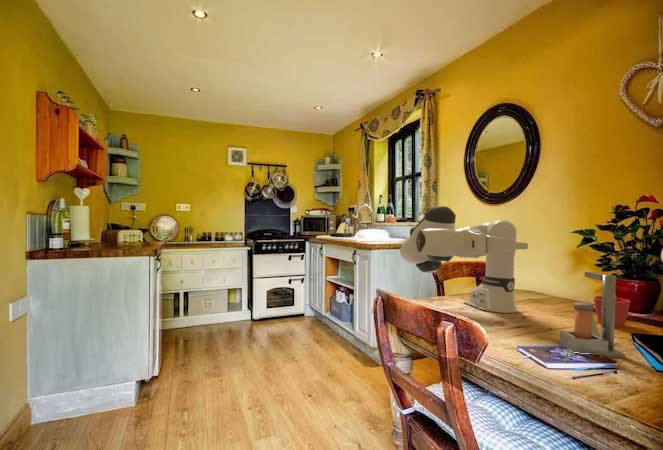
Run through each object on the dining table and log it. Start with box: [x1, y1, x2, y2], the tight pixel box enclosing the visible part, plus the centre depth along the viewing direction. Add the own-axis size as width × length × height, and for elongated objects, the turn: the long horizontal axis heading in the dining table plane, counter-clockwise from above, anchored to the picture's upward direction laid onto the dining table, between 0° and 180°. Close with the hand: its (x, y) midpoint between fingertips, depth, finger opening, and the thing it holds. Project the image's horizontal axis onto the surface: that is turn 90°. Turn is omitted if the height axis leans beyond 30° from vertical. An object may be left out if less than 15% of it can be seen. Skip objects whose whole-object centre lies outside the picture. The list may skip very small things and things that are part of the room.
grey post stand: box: [555, 271, 626, 359], centre depth 102 cm, size 13×15×22 cm
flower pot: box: [593, 295, 631, 328], centre depth 129 cm, size 11×11×10 cm
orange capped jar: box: [572, 301, 595, 339], centre depth 100 cm, size 5×5×12 cm
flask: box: [573, 310, 601, 338], centre depth 115 cm, size 7×7×10 cm
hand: (520, 245), depth 102 cm, fingers open, 8 cm apart
